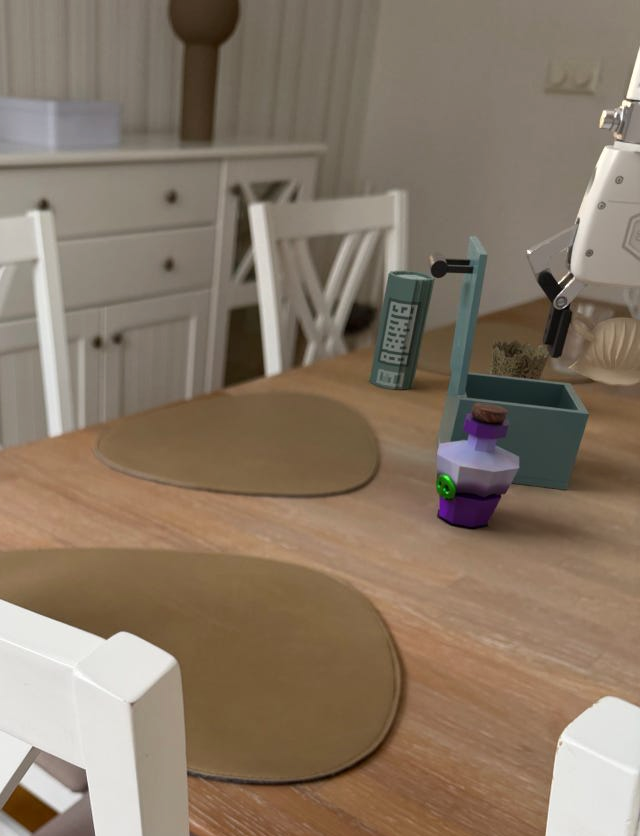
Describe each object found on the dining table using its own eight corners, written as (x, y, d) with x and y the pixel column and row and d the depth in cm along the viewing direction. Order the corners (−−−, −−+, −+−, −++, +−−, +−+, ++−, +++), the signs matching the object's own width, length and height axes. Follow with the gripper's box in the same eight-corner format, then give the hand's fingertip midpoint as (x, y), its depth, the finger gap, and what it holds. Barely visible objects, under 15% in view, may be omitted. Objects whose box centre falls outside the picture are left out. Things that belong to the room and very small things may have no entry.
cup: (469, 401, 137) (483, 343, 133) (497, 392, 141) (511, 336, 137) (517, 416, 132) (533, 357, 128) (544, 407, 137) (560, 349, 133)
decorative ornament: (658, 390, 83) (678, 326, 80) (554, 379, 84) (571, 316, 81) (649, 376, 86) (669, 314, 83) (550, 366, 87) (566, 304, 85)
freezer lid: (477, 236, 110) (429, 234, 110) (487, 254, 100) (435, 252, 101) (456, 366, 117) (411, 364, 118) (464, 395, 107) (416, 392, 108)
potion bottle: (406, 516, 102) (430, 403, 95) (443, 494, 107) (468, 386, 101) (484, 543, 97) (515, 427, 91) (518, 519, 103) (549, 408, 97)
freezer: (550, 454, 120) (570, 383, 116) (566, 490, 111) (589, 413, 106) (436, 440, 122) (452, 370, 117) (442, 474, 112) (459, 398, 108)
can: (415, 380, 144) (436, 274, 136) (409, 392, 139) (431, 282, 131) (374, 374, 146) (393, 268, 138) (366, 384, 141) (386, 276, 133)
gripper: (561, 126, 73) (506, 361, 82) (810, 142, 71) (725, 381, 80) (545, 119, 79) (496, 338, 88) (773, 134, 77) (698, 356, 86)
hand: (605, 357), depth 84 cm, fingers closed on decorative ornament, 8 cm apart
